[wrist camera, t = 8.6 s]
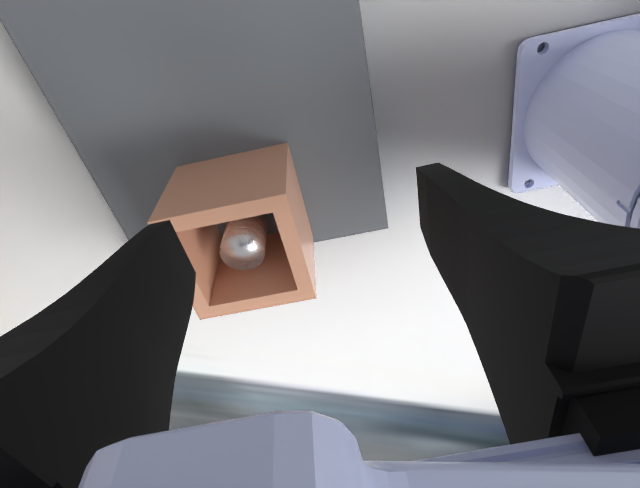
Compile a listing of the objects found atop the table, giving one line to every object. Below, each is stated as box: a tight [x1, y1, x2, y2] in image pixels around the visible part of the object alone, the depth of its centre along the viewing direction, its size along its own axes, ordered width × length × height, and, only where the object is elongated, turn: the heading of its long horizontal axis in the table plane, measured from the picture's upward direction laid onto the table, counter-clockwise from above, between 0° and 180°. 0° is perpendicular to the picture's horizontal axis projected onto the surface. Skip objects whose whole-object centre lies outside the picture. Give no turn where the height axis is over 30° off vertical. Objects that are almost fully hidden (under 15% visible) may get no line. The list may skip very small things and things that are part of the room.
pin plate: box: [0, 0, 388, 270], centre depth 17 cm, size 14×20×6 cm
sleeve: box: [147, 143, 316, 320], centre depth 20 cm, size 6×6×5 cm
